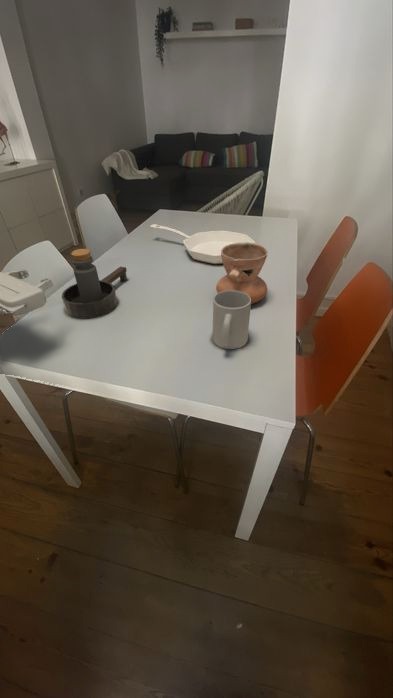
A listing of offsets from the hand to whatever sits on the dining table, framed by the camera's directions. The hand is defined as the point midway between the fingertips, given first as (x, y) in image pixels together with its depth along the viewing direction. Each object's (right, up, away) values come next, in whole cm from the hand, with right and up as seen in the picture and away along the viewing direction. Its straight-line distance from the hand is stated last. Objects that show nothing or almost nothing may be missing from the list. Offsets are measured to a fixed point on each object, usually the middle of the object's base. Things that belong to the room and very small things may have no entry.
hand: (38, 277), depth 75 cm
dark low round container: (+8, -5, +16) cm, 18 cm away
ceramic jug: (+51, -2, +18) cm, 54 cm away
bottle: (+8, -4, +15) cm, 18 cm away
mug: (+45, -16, +1) cm, 48 cm away
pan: (+38, +22, +49) cm, 66 cm away
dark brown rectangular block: (+12, +3, +25) cm, 28 cm away
